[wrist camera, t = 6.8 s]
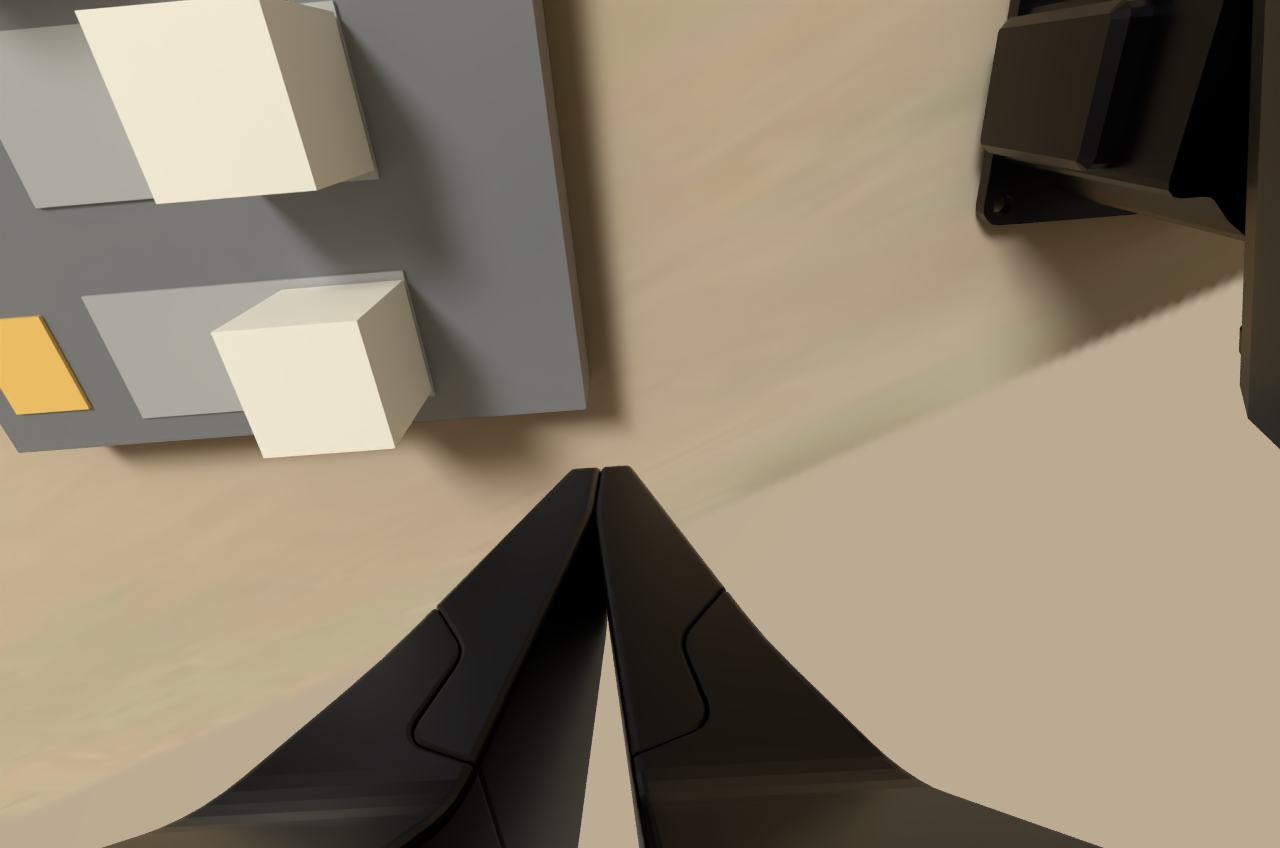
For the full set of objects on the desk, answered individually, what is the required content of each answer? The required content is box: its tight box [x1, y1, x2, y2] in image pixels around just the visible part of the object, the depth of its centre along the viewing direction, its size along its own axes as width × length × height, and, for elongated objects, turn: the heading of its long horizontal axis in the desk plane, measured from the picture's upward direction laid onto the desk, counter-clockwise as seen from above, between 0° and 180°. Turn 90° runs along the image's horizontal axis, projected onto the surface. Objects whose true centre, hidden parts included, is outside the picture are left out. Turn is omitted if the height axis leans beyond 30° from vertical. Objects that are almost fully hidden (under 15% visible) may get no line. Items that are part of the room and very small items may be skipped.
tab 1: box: [75, 0, 374, 204], centre depth 12 cm, size 3×3×3 cm
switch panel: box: [0, 0, 590, 453], centre depth 15 cm, size 16×16×2 cm
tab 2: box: [211, 280, 432, 458], centre depth 15 cm, size 3×3×3 cm
